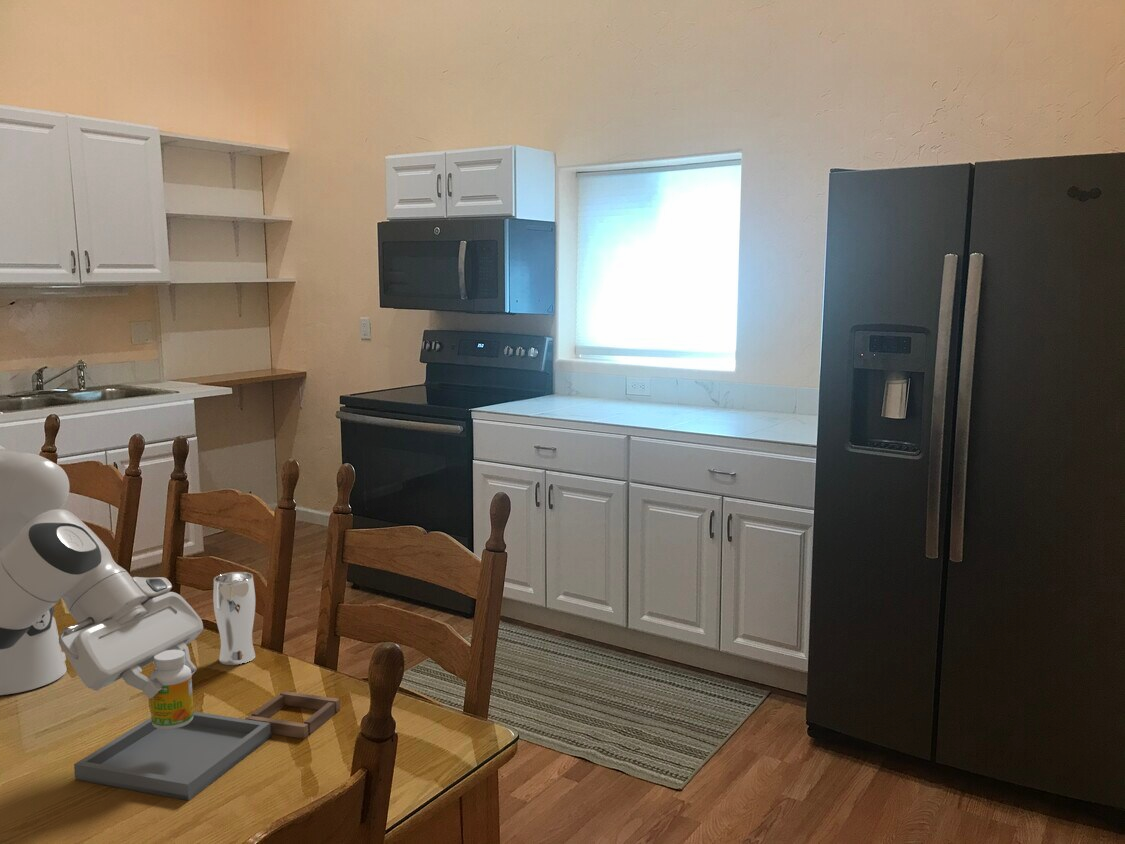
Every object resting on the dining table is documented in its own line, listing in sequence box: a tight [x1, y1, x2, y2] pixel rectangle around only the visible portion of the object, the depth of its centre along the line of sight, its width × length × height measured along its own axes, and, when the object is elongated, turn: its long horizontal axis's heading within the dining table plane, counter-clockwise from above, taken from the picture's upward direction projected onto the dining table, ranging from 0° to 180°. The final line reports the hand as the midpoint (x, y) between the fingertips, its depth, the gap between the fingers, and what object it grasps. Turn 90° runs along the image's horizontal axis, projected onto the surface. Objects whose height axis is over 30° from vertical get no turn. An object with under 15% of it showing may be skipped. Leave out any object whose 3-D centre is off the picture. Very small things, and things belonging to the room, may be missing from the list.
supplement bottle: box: [148, 650, 194, 730], centre depth 129 cm, size 5×5×10 cm
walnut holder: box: [244, 690, 341, 740], centre depth 143 cm, size 10×10×2 cm
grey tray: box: [73, 710, 272, 801], centre depth 131 cm, size 18×18×2 cm
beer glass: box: [212, 571, 256, 666], centre depth 165 cm, size 7×7×15 cm
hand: (174, 684), depth 129 cm, fingers closed on supplement bottle, 5 cm apart
